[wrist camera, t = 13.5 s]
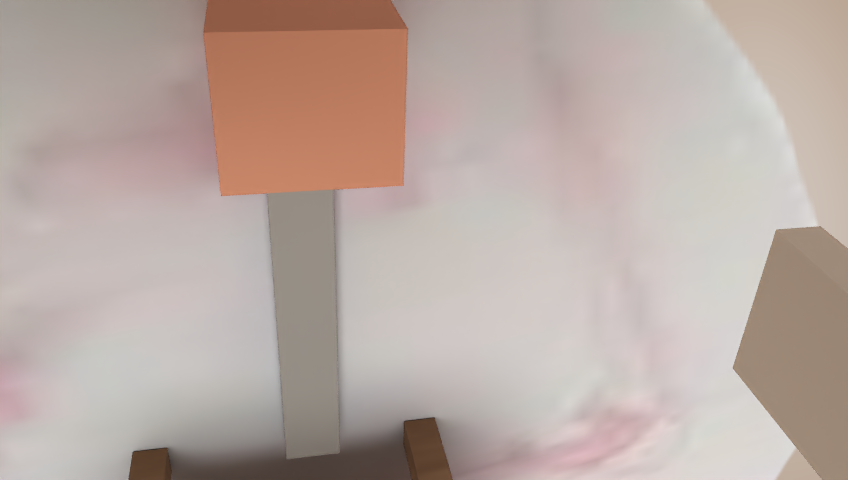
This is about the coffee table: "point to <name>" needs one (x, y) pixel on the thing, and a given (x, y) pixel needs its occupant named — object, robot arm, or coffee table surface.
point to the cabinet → (419, 443)
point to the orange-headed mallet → (306, 161)
